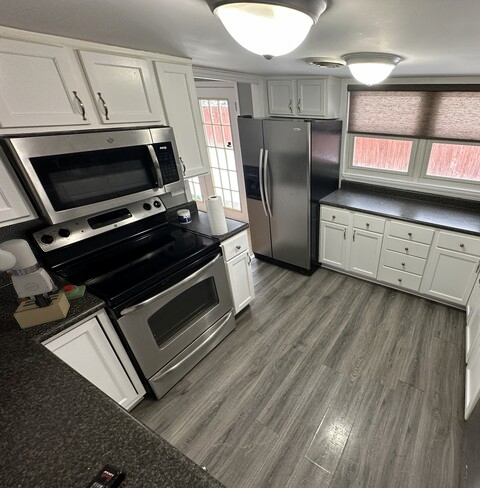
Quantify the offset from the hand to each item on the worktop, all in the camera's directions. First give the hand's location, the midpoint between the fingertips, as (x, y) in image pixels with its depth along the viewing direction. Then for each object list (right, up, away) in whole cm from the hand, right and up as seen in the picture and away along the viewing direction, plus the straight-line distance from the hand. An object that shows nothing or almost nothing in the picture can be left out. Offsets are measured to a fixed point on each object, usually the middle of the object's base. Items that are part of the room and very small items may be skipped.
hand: (45, 305), depth 114 cm
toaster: (-4, -7, +5) cm, 9 cm away
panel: (-7, 0, +19) cm, 21 cm away
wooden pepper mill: (-24, -2, +15) cm, 28 cm away
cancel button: (-7, +3, +18) cm, 19 cm away
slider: (0, 0, 0) cm, 0 cm away
